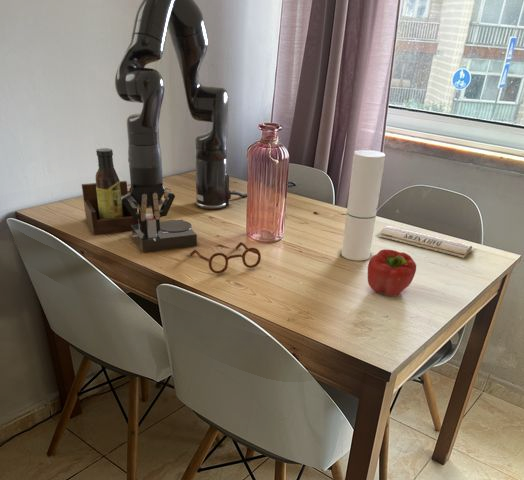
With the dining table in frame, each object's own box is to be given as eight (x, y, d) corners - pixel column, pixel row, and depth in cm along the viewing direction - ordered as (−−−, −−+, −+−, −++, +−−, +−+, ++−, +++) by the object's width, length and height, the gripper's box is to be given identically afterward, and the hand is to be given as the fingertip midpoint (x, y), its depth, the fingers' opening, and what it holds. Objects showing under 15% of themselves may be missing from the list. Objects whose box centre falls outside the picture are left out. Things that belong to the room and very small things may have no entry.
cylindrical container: (371, 252, 141) (387, 152, 128) (366, 262, 136) (382, 158, 122) (344, 247, 143) (357, 148, 130) (338, 257, 137) (351, 154, 124)
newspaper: (471, 250, 146) (472, 243, 145) (463, 258, 141) (465, 251, 140) (388, 229, 156) (389, 223, 155) (378, 236, 151) (379, 230, 150)
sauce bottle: (120, 229, 148) (112, 153, 137) (97, 228, 148) (88, 152, 137) (126, 221, 154) (119, 147, 143) (104, 220, 154) (95, 146, 143)
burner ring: (185, 219, 148) (185, 218, 148) (196, 229, 141) (196, 229, 141) (153, 222, 145) (153, 221, 145) (162, 233, 138) (162, 233, 138)
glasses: (210, 276, 125) (210, 256, 122) (189, 255, 135) (189, 236, 132) (261, 267, 130) (262, 247, 128) (237, 248, 140) (238, 229, 137)
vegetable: (420, 302, 118) (429, 259, 113) (375, 305, 116) (383, 261, 111) (399, 280, 127) (407, 240, 122) (357, 283, 125) (363, 241, 120)
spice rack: (128, 215, 158) (125, 180, 152) (139, 229, 148) (136, 192, 143) (86, 219, 153) (81, 184, 148) (94, 234, 144) (89, 196, 139)
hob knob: (144, 231, 139) (142, 213, 136) (151, 230, 140) (150, 212, 137) (149, 238, 135) (147, 219, 133) (157, 237, 136) (155, 218, 133)
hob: (182, 230, 150) (182, 218, 148) (198, 247, 140) (198, 235, 138) (125, 236, 144) (124, 224, 142) (137, 254, 134) (136, 242, 132)
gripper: (119, 168, 123) (126, 242, 132) (178, 164, 128) (181, 235, 137) (112, 160, 128) (119, 231, 137) (169, 157, 133) (172, 225, 143)
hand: (150, 233), depth 137 cm, fingers closed on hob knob, 2 cm apart
